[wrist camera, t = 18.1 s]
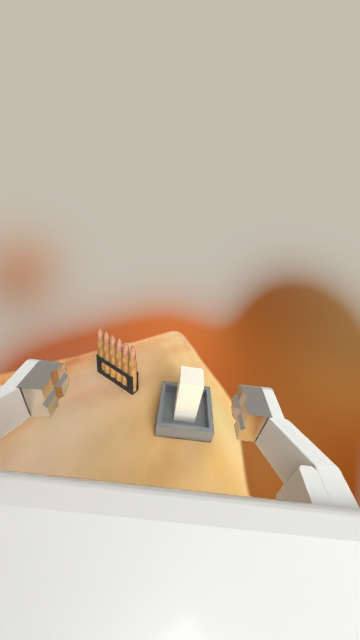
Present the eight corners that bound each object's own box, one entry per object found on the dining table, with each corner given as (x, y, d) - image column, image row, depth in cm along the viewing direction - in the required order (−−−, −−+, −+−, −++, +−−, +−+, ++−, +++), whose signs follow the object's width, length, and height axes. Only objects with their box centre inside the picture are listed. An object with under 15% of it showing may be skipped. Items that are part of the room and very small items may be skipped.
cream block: (173, 420, 41) (180, 383, 35) (174, 401, 44) (181, 365, 39) (194, 422, 41) (204, 386, 36) (194, 404, 44) (203, 368, 39)
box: (154, 436, 39) (156, 426, 37) (161, 390, 47) (162, 381, 45) (210, 442, 39) (214, 432, 37) (207, 396, 47) (209, 386, 46)
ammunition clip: (138, 389, 47) (140, 346, 40) (132, 395, 45) (133, 351, 39) (103, 366, 51) (100, 324, 45) (97, 371, 49) (92, 327, 43)
